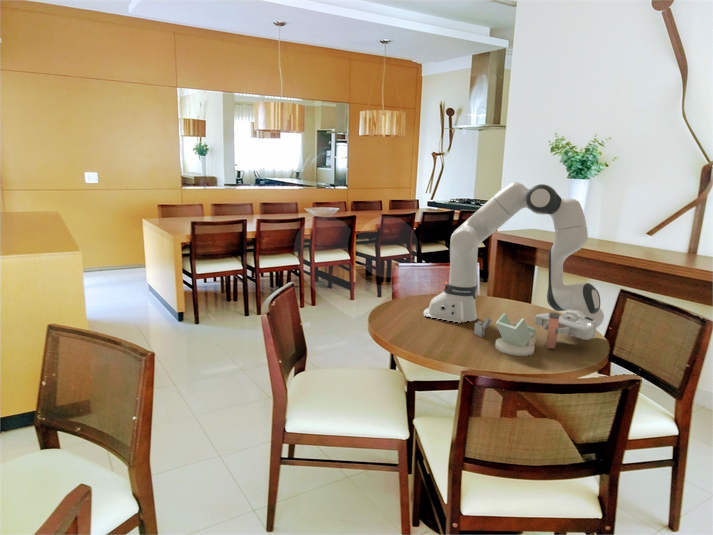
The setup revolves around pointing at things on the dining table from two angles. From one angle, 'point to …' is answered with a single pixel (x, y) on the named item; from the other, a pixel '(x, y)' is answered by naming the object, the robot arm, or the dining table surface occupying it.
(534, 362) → the dining table surface
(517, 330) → the green holder stand
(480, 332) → the lighter
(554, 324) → the marker
